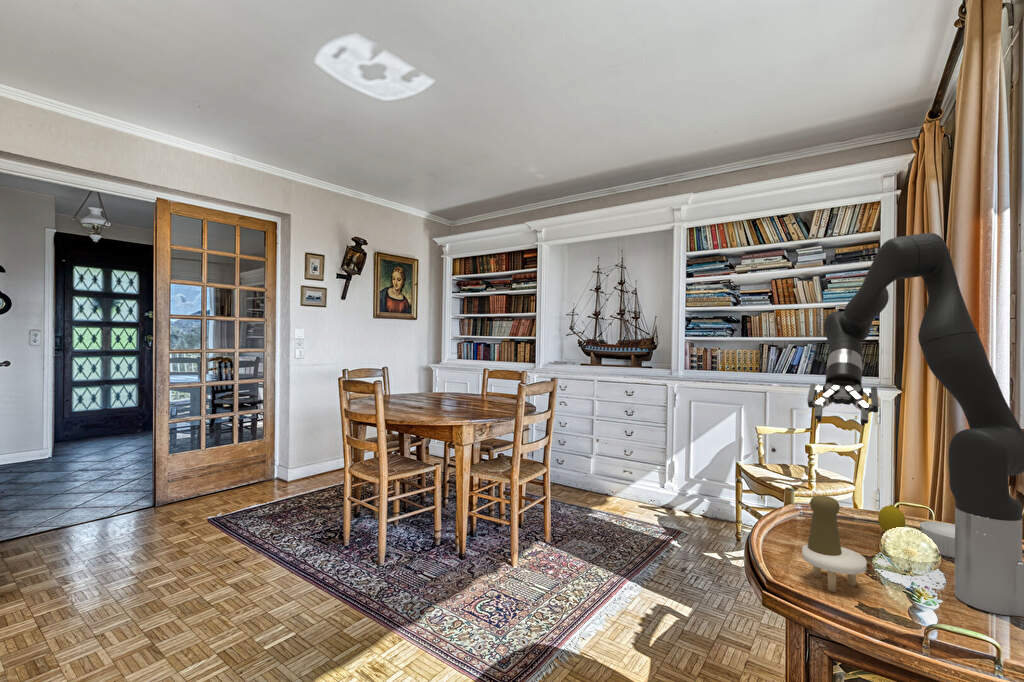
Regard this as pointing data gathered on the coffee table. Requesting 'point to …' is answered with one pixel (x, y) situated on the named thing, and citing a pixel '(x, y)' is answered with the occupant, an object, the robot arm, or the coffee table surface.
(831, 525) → the cork
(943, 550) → the ramekin
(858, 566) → the stool
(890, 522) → the lemon
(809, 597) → the coffee table surface
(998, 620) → the coffee table surface
